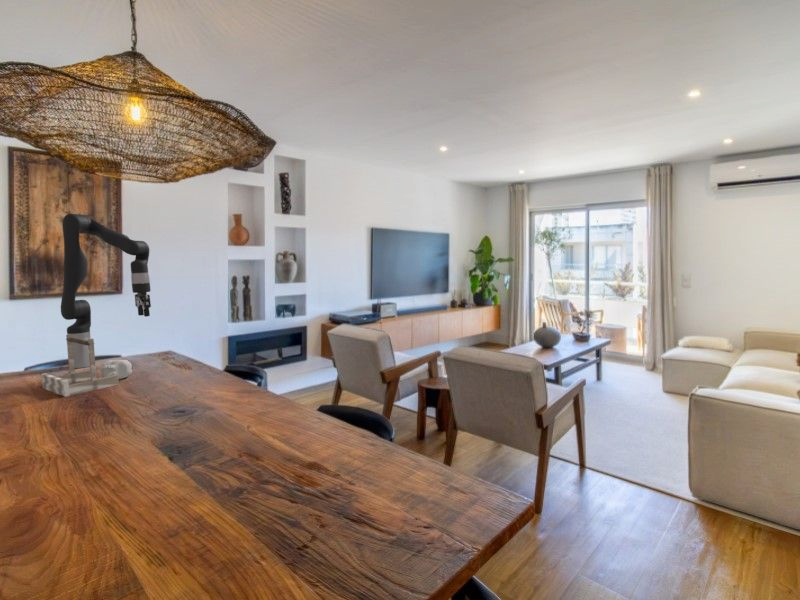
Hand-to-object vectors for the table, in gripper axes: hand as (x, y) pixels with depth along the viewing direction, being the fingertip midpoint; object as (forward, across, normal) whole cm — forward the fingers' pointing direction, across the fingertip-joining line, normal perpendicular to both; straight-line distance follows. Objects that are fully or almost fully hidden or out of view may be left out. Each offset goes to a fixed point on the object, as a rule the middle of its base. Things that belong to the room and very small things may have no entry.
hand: (144, 315), depth 211 cm
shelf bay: (+26, +12, -29) cm, 40 cm away
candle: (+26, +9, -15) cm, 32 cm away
